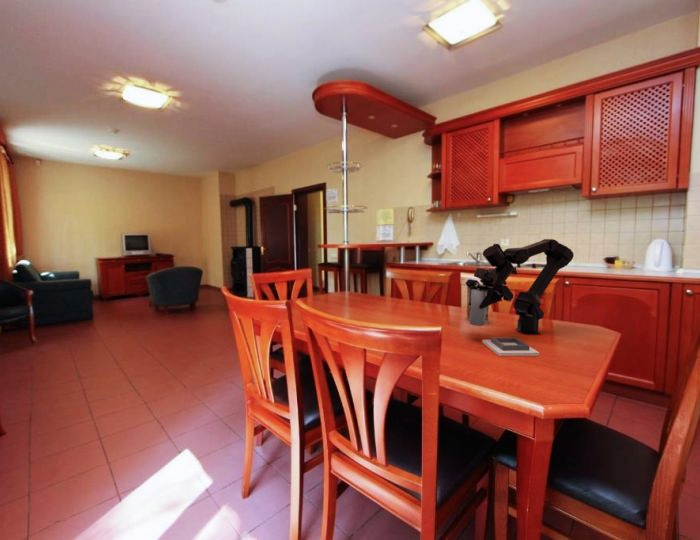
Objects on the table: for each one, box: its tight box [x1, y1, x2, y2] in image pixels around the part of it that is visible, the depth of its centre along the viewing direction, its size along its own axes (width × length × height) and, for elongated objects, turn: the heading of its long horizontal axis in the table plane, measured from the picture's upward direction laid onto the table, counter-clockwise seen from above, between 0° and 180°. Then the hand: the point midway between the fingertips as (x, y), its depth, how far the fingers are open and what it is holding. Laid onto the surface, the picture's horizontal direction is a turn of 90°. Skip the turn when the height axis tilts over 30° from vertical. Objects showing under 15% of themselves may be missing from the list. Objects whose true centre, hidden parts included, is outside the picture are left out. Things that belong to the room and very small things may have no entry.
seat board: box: [481, 336, 540, 357], centre depth 112 cm, size 13×13×2 cm
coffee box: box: [466, 283, 490, 325], centre depth 146 cm, size 9×6×16 cm
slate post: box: [469, 289, 486, 327], centre depth 120 cm, size 5×5×12 cm
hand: (474, 306), depth 120 cm, fingers closed on slate post, 5 cm apart
